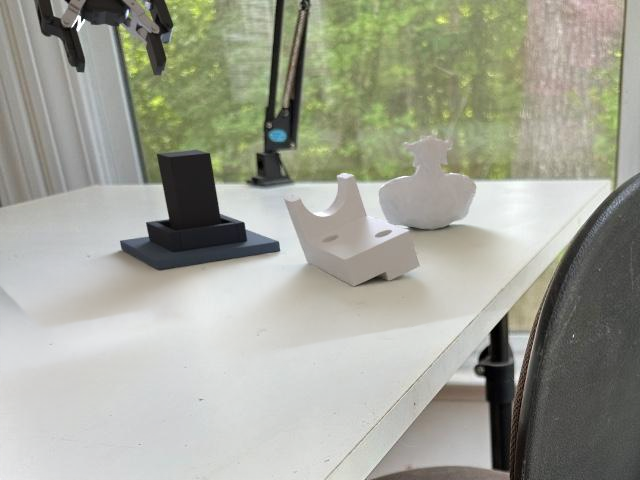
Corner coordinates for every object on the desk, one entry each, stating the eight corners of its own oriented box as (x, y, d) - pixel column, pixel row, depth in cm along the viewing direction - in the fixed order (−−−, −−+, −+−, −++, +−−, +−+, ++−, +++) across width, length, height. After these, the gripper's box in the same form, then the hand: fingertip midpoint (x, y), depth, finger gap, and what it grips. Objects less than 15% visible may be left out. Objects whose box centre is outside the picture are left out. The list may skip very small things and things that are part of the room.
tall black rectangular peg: (173, 240, 103) (156, 153, 98) (210, 235, 105) (196, 149, 100) (186, 246, 100) (169, 157, 95) (224, 240, 102) (210, 152, 97)
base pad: (121, 249, 105) (115, 222, 103) (234, 233, 111) (230, 206, 109) (158, 270, 95) (152, 240, 93) (280, 250, 101) (276, 222, 99)
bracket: (310, 270, 96) (283, 198, 91) (367, 244, 98) (344, 172, 93) (357, 295, 86) (330, 216, 82) (420, 266, 88) (397, 187, 83)
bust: (383, 250, 110) (386, 178, 99) (373, 201, 112) (375, 126, 101) (478, 242, 111) (491, 170, 101) (466, 194, 114) (478, 120, 103)
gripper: (140, -31, 108) (177, 94, 107) (13, -44, 101) (52, 89, 101) (150, -84, 101) (189, 49, 101) (14, -101, 95) (55, 41, 94)
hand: (120, 69), depth 101 cm, fingers open, 8 cm apart
